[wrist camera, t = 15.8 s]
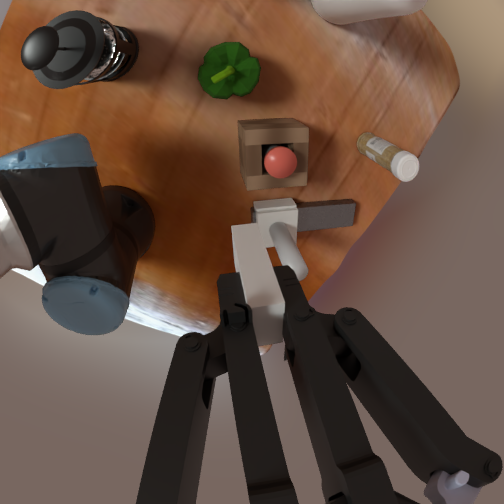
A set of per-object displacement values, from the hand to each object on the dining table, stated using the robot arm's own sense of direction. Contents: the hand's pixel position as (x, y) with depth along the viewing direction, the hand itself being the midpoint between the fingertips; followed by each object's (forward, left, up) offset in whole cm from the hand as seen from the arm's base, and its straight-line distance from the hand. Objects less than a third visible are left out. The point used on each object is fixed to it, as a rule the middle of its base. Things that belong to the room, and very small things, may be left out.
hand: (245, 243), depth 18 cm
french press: (-16, +16, -33) cm, 40 cm away
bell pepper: (+2, +10, -33) cm, 34 cm away
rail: (+15, -17, -32) cm, 40 cm away
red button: (+8, -3, -30) cm, 32 cm away
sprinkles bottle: (+27, -3, -33) cm, 42 cm away
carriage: (+9, -17, -32) cm, 38 cm away
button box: (+8, -3, -32) cm, 34 cm away
